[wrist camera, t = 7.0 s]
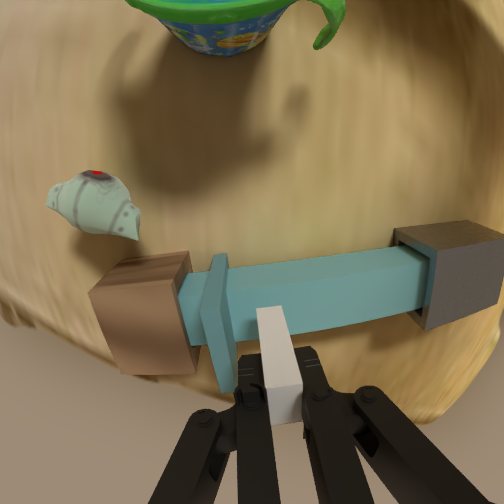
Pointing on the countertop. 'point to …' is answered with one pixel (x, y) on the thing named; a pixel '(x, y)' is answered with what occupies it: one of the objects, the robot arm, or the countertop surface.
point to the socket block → (146, 315)
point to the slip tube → (297, 297)
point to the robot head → (96, 204)
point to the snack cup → (231, 21)
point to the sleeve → (456, 269)
